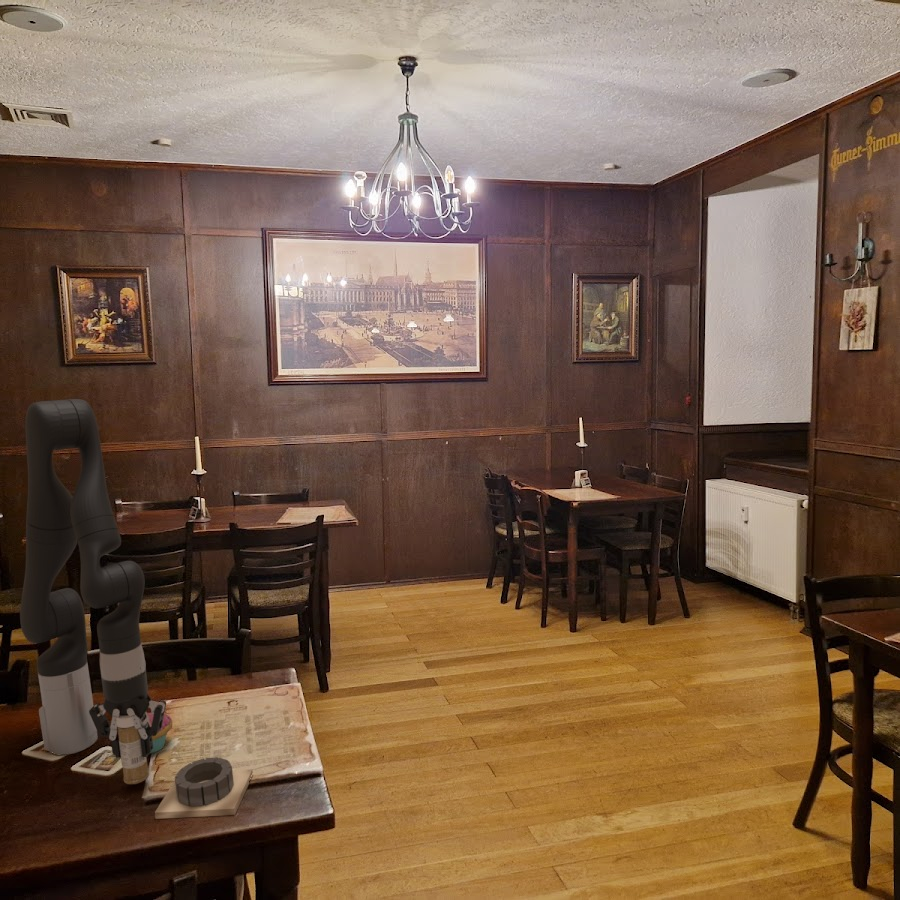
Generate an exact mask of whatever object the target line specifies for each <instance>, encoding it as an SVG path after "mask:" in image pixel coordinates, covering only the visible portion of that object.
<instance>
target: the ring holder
mask: <svg viewBox="0 0 900 900" xmlns="http://www.w3.org/2000/svg"><path fill="white" fill-rule="evenodd" d="M252 773H254V772H253V769H252V768H250V769H233V766H232V764H231V763H230V761H229V760H228V759H225V758H222V757H217V756H216V757H205V758H202V759H197V760H195V761H192V762H190V763H188V764H186V765H184V766H183V767H181V768H180V770H178V772H177V774H176V775H175V777H174V781H173V783H172V784H171V786H170V788H169V789H168V791H167V792H166V794H165V795H164V797H163V798H162V800H161V802H160V803H159V805H158V807H157V808H156V810H155V811H154V817H155V819H156V820H157V819H158V820H159V819H161V820H162V819H179V818H181V819H182V818H197V817H198V818H201V817H219V816H221V817H222V816H223V817H224V816H235V815H236V813H237V811H238V809H239V807H240V805H241V802H242V800H243V798H244V796H245V793H246V791H247V789H248V787H249V785H250V783H249V780H250V778H251V775H252ZM251 779H252V778H251Z"/></svg>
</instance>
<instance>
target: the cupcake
mask: <svg viewBox="0 0 900 900" xmlns="http://www.w3.org/2000/svg"><path fill="white" fill-rule="evenodd" d="M147 714H148V716H149V722H150V724H151V726H152V721H153V716H154V715H152V712H147ZM173 725H174V724H173V720H172V718H171V716H170V715H168V714H167V713H164V718H163V723H162V727H161V729H160V730H159V731H158V733H157V734H156V735H155V736H152V741H153V749H152V751H151V752H150V754H154V753H157V752H159V751H160V750H162V749H163V748H164V747H165V742H166V738H167V734H168V733H169V732H170V730H171V729H172V728H173Z"/></svg>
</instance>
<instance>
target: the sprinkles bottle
mask: <svg viewBox="0 0 900 900" xmlns="http://www.w3.org/2000/svg"><path fill="white" fill-rule="evenodd" d="M116 721H117V728H118V735H119V746H120V753H121V758H120V760H121V761H120V762H121V766H122V773H123V778H122V779H123V782H124V783H125V784H127V785H137V784H139V783H142V782H143V781H145V780H147V779H148V777H149V775H150V771H149V769H148V767H149V766H148V759H147V758H148V756H147V757H143V756H142V748H141V736H140V733H139V731H138V730H136V729H135V726H134V724H133V718H132V717H129V715H127V716H120V717H119V718H117V719H116ZM140 721H142V718H141V719H140Z"/></svg>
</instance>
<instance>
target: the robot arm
mask: <svg viewBox="0 0 900 900" xmlns="http://www.w3.org/2000/svg"><path fill="white" fill-rule="evenodd" d="M24 424H25V427H24V428H25V444H26V460H27V474H28V475H27V476H28V478H27V503H26V506H27V507H26V516H25V517H26V519H25V520H26V521H25V522H26V523H25V548H26V549H25V571H24V577H23V578H24V579H23V580H24V581H23V588H22V593H21V599H20V600H21V601H20V608H19V609H20V610H19V620H20V628H21V632H22V634H23V636H24V637H25V639H26V640H27V641H28V642H29V643H32V644H41V643H42V644H43V643H45V642H49V641H52V640H54V641H55V642H54V643H53V644H52V645H50V647H48V648H47V649H46V650H45V651H44V652H42V653H41V654H40V656H38V658H37V660H36V669H37V675H38V683H39V687H40V688H39V690H40V697H41V703H42V706H41V707H39V709H38V714H39V722H40V729H41V734H42V741H43V747H44V751H45V750H48V751H51V752H53V753H55V754H67V755H72V754H77V753H79V752H81V751H84V750H86V749H87V748H90V747H91V746H92V745H94V744H95V743H97V740H98V739H99V738H98V736H99V737H100V738H108V739H109V741H110V742H111V744H110V745H111V751H112V754H113V755H114V756H115V758H116V759H118V758H119V759H121V753H120V746H119V735H118V728H117V721H116V719H117V718H119V717H120V716H127V715H129V717H132V718H133V724H134V726H135V729H136V730H138V731H139V733H140V736H141V748H142V756H143V757H147V758H148V757H149V755H150V754H151V753H150V752H151V751H152V749H153V741H152V736H155V735H156V734H157V733H158V731H159V730H160V729H161V727H162V723H163V718H164V714H165V712H166V707H167V702H166V701H165V700H162V699H161V700H160V701H155V700H152V698H151V696H150V695H149V692H148V691H149V686H148V679H147V678H148V677H147V668H146V664H147V663H146V660H145V654H144V653H145V651H144V649H143V644H142V641H141V639H142V637H141V631H140V616H141V615H140V614H141V609H142V608H141V607H142V603H143V598H144V597H143V596H144V592H145V584H146V582H145V580H146V579H145V574H144V571H143V568H141V566H140V565H139V564H138V563H137V562H135V561H133V560H125V561H120V562H116V563H112V564H108V565H104V566H101V565H100V560H101V557H103V556H105V555H108V554H109V553H111V552H114V551H116V550H117V549H118V548H120V546H121V545H122V537H121V534H120V531H119V527H118V524H117V521H116V518H115V515H114V512H113V508H112V504H111V501H110V497H109V492H108V488H107V487H108V486H107V479H106V472H105V465H104V458H103V457H104V456H103V452H102V450H103V449H102V447H101V444H102V443H101V439H100V438H101V437H100V434H99V433H100V432H99V427H98V426H99V425H98V422H97V418H96V415H95V413H94V410H93V408H92V406H91V405H90V403H89V402H88V401H86V400H84V399H81V398H71V399H70V398H69V399H59V400H58V399H57V400H56V399H55V400H43V401H35V402H32V403H31V404H30V405H28V408H27V411H26V414H25V423H24ZM71 449H77V450H78V452H79V456H80V462H81V465H80V473H79V478H78V481H77V483H76V487H75V489H74V491H73V495H72V494H71V493H70V491H69V490H68V488H66V486H65V485H64V484H63V483H62V481H61V480H60V478H59V477H58V475H57V474H56V471H55V468H54V463H53V453H54V452H55V451H62V450H71ZM77 546H78V550H79V557H80V582H79V583H80V584H79V585H80V589H79V590H80V594H81V596H80V594H79V593H78V592H77V591H76V590H75V589H73V588H70V587H65V588H62V589H58V590H55V591H54V590H53V591H52V587H53V585H54V582H55V580H56V578H57V577H58V575H59V573H60V572H61V571H62V568H64V566H65V565H66V562H68V560H69V559H70V557H71V556H72V554H73V552H74V550H75V549H76V547H77ZM82 599H83V600H82ZM83 602H84V603H85V605H87V606H88V607H90V608H92V609H102V608H106V607H110V606H112V605H116V604H118V605H117V607H116V608H115V609H114V610H113V611H112V612H110V613H108V614H106V615H104V616H103V617H101V618H100V620H99V621H98V622H97V624H96V631H97V632H96V633H97V640H98V647H99V670H100V675H101V676H100V678H101V684H102V692H103V693H102V694H103V698H104V702H102V703H101V702H96V703H95V704H94V700H93V693H92V685H91V677H90V671H89V665H88V658H87V655H88V641H87V626H86V615H85V609H84V604H83ZM55 639H56V640H55ZM149 708H150V711H151V712H152V715H154V716H153V721H152V726H151V724H150V722H149V716H148V714H147V713H148V712H147V711H148V709H149ZM106 712H107V714H108V715H110V716H111V717H112V718H111V721H109V718H108V716H107V714H106ZM151 712H150V713H151ZM141 718H142V721H140V719H141ZM51 752H50V753H51ZM55 754H54V755H55Z"/></svg>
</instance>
